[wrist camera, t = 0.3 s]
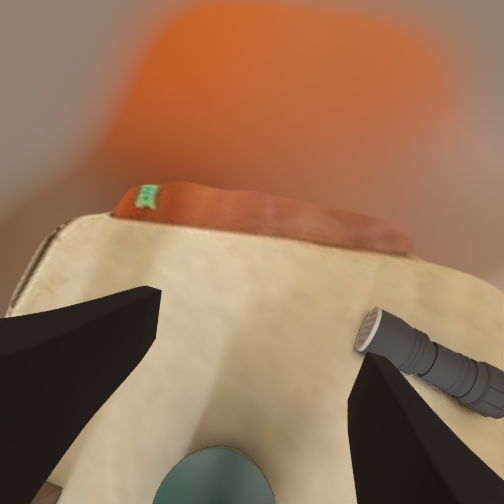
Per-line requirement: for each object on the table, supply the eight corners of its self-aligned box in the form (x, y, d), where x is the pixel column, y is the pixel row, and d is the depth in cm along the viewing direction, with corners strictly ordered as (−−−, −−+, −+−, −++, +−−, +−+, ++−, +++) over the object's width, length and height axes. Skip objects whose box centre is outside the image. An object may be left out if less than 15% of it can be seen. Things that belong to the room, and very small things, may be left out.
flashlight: (492, 375, 37) (529, 373, 32) (481, 421, 35) (519, 427, 30) (366, 312, 40) (383, 301, 35) (350, 351, 38) (365, 346, 33)
